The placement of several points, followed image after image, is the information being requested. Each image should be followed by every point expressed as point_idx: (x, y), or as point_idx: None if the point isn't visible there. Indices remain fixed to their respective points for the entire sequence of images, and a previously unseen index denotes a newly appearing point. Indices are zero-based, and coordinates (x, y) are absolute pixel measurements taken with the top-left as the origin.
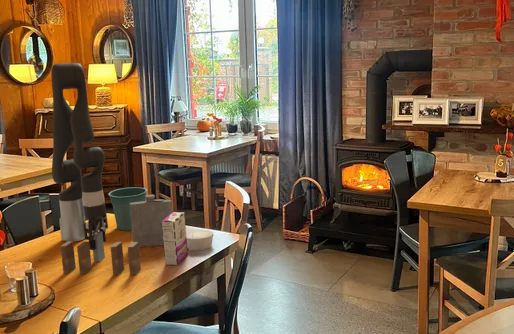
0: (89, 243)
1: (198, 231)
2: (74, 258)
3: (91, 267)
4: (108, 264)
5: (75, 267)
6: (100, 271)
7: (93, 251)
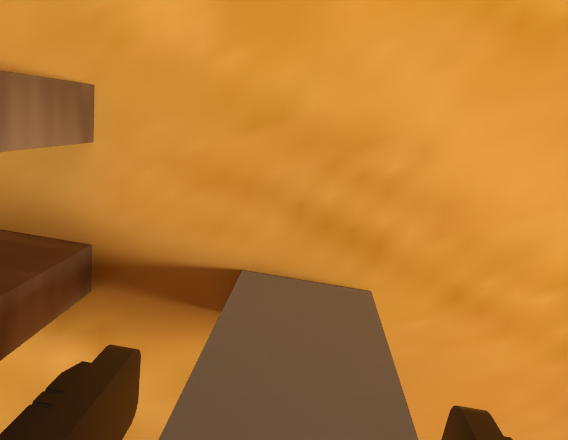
0: (12, 427)
1: None
2: (9, 149)
3: (78, 295)
4: None
5: (82, 141)
6: (36, 371)
7: (214, 330)
